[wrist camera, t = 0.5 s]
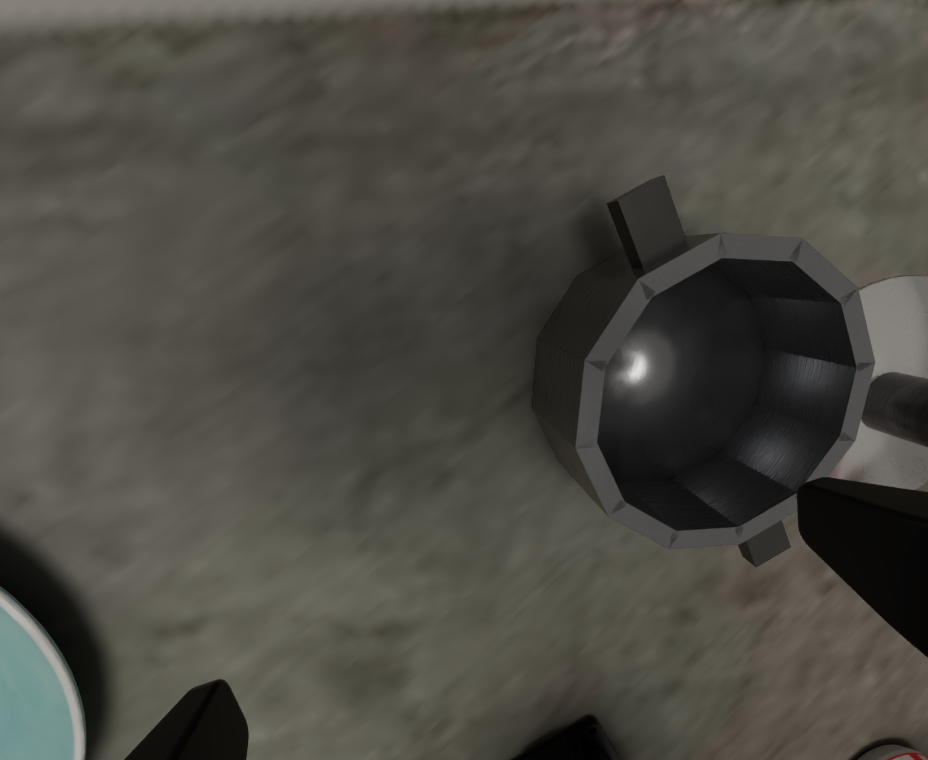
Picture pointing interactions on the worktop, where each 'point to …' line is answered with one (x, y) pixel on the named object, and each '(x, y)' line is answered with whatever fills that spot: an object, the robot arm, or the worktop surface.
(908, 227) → the worktop surface
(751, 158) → the worktop surface
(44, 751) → the plate
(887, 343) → the lid
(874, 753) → the soda can
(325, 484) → the worktop surface
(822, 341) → the pot
